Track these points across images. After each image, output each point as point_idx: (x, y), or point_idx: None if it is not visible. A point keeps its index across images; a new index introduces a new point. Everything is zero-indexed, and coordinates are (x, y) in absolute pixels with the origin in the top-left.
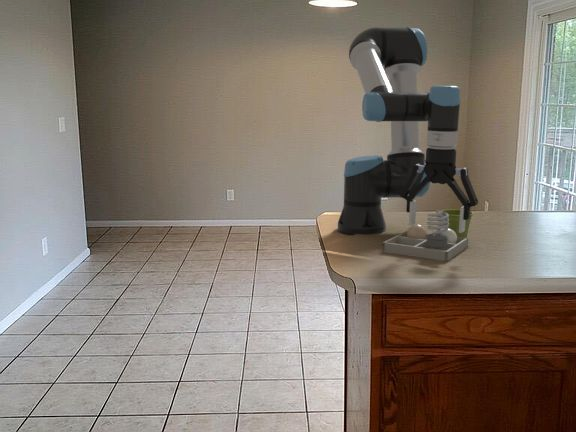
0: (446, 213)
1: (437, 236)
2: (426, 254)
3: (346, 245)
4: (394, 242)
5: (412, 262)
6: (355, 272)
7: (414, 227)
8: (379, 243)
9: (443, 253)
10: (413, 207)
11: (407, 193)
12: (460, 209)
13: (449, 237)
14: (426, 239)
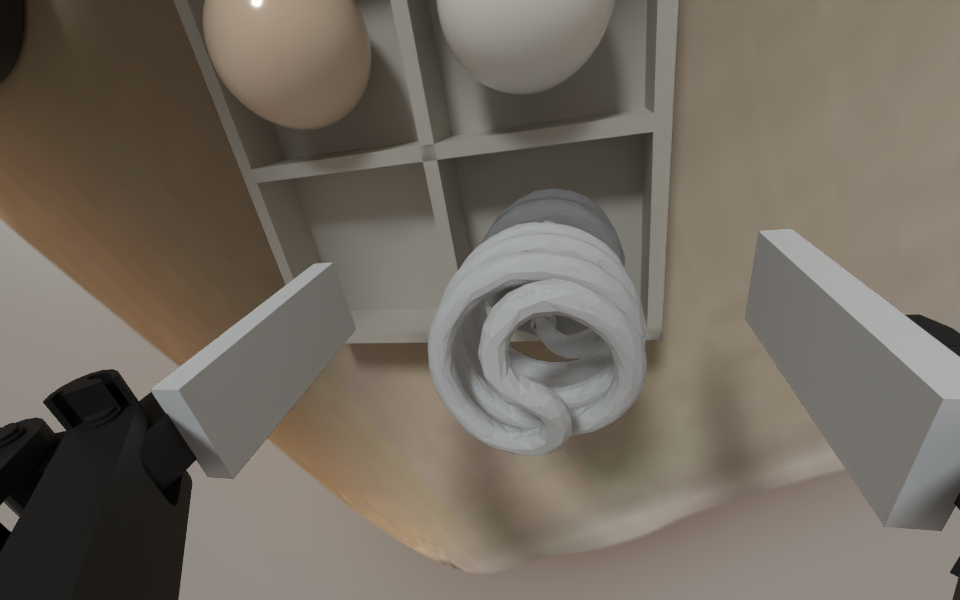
0: (602, 332)
1: (568, 322)
2: None
3: (160, 284)
4: (289, 214)
5: None
6: (431, 528)
7: (265, 99)
8: (191, 152)
9: None
10: (263, 405)
11: (21, 473)
12: (868, 499)
13: (575, 67)
14: (417, 128)
